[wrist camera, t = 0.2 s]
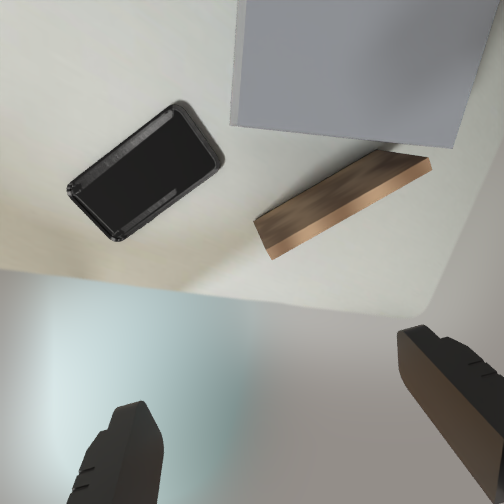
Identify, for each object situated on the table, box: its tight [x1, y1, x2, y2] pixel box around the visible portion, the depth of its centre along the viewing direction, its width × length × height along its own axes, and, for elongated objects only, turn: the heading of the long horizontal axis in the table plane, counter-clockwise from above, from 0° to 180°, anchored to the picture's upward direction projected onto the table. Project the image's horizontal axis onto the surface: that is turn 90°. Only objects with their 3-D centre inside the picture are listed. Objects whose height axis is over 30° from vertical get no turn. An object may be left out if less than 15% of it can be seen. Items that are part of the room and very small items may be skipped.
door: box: [253, 150, 432, 260], centre depth 32 cm, size 16×2×9 cm, turn 119°
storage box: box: [229, 0, 500, 149], centre depth 27 cm, size 12×18×10 cm, turn 84°
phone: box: [67, 105, 220, 242], centre depth 33 cm, size 8×1×15 cm
